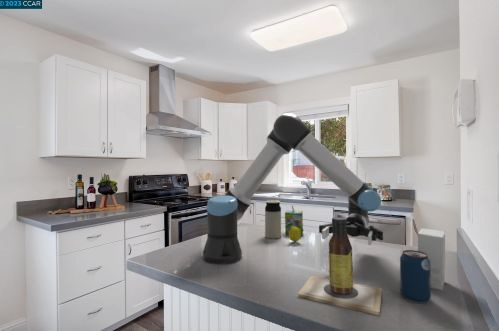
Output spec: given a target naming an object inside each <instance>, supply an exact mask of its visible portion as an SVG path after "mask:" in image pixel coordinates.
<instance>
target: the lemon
mask: <svg viewBox="0 0 499 331" xmlns="http://www.w3.org/2000/svg"><path fill="white" fill-rule="evenodd" d="M293 224H294V223H289V224H288V225H287V226H286V228H289V227H290V226H292V225H293ZM296 226H297V227H296ZM296 226H294V227H292V228H291V229H290V231H289V235H288V238H289V240H290V241H292V242H293V243H297V242H298V241H300V240H301V238H302V235H301V232H300V230H302V231H303V232H304V227H303V228H302V227H301V226H300V225H296Z"/></svg>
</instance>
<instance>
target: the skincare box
mask: <svg viewBox="0 0 499 331" xmlns="http://www.w3.org/2000/svg"><path fill="white" fill-rule="evenodd" d="M417 251H420V252H423V253H426V254H427V255H428V259H429V260H430V279H431V289H434V290H439V291H443V290H444V286H445V273H446V272H445V270H446V267H445V266H446V265H445V264H446V231H445V230H439V229H438V230H437V229H431V228H430V229H429V228H423V227H422V228H421V229H420V230H419V231H418V233H417Z"/></svg>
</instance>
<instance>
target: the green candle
mask: <svg viewBox="0 0 499 331" xmlns="http://www.w3.org/2000/svg"><path fill="white" fill-rule="evenodd" d="M291 209H292V210H285V213H284V224H285V225H284V227H285V228H284V230H285V234H284V235H285V236H289V231H290V229H291V228H292V227H294V226H296V225H300V226H301V227H302V228H303V229H304V227H303V226H304V223H303V222H304V221H303V220H304V219H303V210H295V209H294V206H293V204H291ZM289 223H294V224H293V225H292V226H290V227H289V228H286V226H287V225H288V224H289ZM296 227H297V226H296ZM300 232H301V236H303V235H304V230H303V231H302V230H300Z"/></svg>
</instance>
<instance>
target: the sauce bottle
mask: <svg viewBox="0 0 499 331" xmlns="http://www.w3.org/2000/svg"><path fill="white" fill-rule="evenodd" d="M346 218H347V217H337V216H335V217H332V218H331V223H332V224H333V233H332V235H331V237H330V239H329V242H328V250H329V251H328V274H329V275H328V276H329V278H328V279H329V283H330V289H331V290H332V291H333V292H335V293H337V294H350V293H352V290H353V283H354V273H353V272H354V268H353V267H354V266H353V264H354V263H353V247H352V243H351V241H350V238H349V235H348V234H347V219H346Z"/></svg>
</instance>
